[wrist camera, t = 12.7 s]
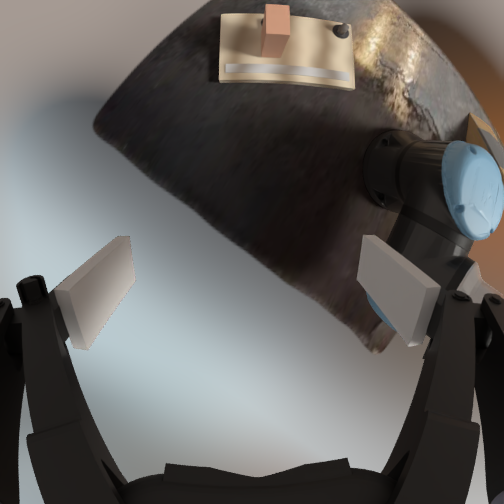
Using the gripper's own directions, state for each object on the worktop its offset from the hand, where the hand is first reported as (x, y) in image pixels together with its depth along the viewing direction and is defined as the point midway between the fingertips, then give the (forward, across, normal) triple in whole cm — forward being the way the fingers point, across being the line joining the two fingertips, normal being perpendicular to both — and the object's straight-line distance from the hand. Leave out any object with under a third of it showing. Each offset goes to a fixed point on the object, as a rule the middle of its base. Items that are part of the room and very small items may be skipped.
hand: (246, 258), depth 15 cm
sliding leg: (+30, -4, -25) cm, 40 cm away
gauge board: (+33, -7, -24) cm, 41 cm away
